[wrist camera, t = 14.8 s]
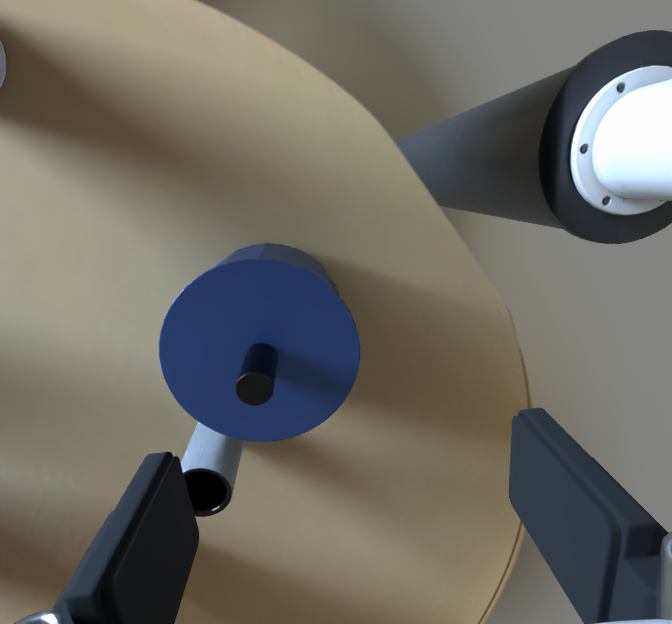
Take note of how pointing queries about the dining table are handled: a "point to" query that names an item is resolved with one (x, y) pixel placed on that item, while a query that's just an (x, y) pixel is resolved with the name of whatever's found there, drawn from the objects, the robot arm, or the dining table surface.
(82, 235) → the dining table surface
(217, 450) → the grey cylinder tube
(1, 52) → the coffee cup
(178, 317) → the pot lid
